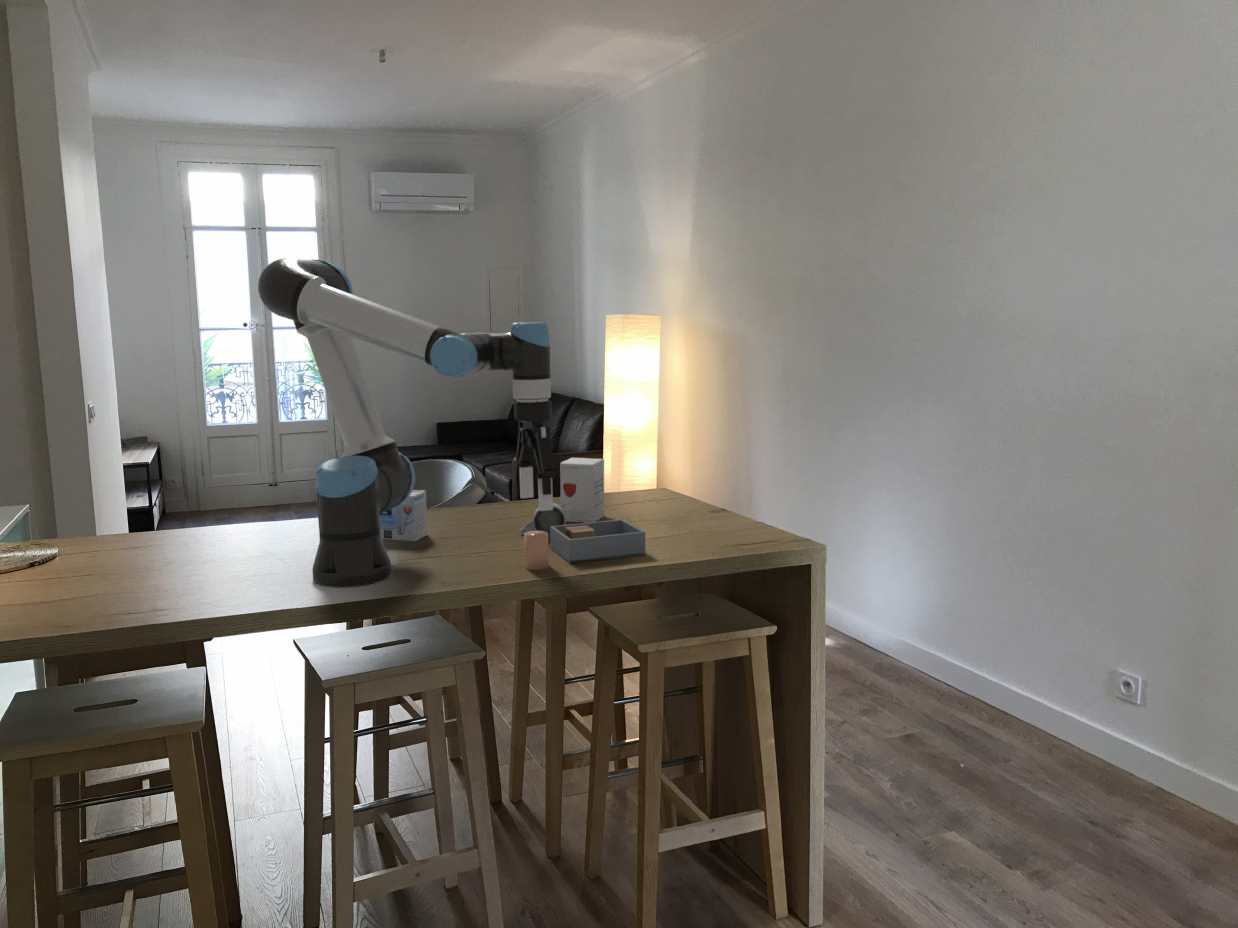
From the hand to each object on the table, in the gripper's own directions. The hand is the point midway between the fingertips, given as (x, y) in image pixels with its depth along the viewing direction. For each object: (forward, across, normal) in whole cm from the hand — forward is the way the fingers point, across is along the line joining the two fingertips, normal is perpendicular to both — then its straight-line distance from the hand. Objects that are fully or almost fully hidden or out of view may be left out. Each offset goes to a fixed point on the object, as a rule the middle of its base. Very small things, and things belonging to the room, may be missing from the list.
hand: (536, 503), depth 190 cm
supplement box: (+13, +37, -23) cm, 46 cm away
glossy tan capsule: (+13, 0, 0) cm, 13 cm away
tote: (+13, +6, -15) cm, 21 cm away
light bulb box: (+13, +37, +22) cm, 45 cm away
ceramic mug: (+14, +26, -9) cm, 31 cm away
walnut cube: (+13, +6, -11) cm, 18 cm away
